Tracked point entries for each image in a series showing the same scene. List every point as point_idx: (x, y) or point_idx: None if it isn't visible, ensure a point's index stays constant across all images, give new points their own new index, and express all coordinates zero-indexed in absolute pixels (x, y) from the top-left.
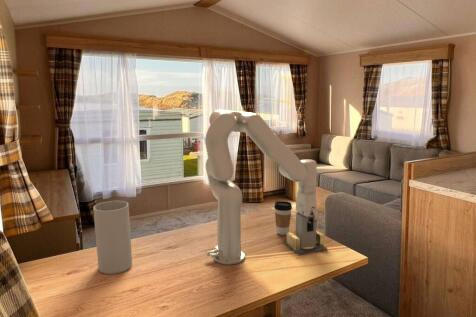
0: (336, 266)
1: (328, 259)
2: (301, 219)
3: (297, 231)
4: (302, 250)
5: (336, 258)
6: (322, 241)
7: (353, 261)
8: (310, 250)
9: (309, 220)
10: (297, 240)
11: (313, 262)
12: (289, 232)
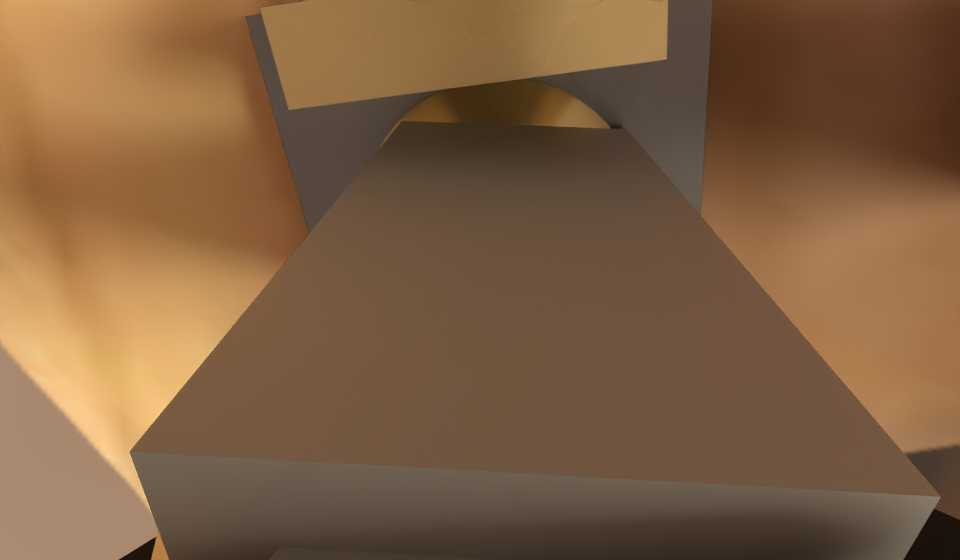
0: (2, 308)
1: (151, 306)
2: (238, 382)
3: (570, 182)
4: (325, 108)
5: (175, 379)
6: None
7: (120, 468)
8: (315, 210)
9: (152, 555)
10: (281, 45)
11: (66, 124)
12: (656, 19)
